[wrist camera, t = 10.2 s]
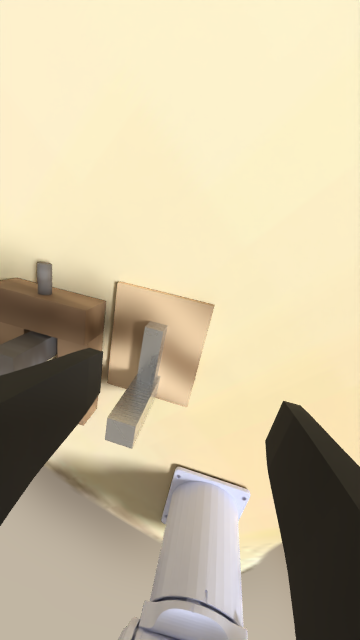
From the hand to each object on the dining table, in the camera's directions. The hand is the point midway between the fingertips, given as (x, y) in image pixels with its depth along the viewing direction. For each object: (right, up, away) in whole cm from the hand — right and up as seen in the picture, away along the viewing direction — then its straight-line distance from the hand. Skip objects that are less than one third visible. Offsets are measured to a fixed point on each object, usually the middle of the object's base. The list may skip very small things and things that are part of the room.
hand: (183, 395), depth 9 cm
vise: (-12, +1, +13) cm, 17 cm away
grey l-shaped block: (-3, -1, +11) cm, 11 cm away
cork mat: (-2, +1, +11) cm, 11 cm away
